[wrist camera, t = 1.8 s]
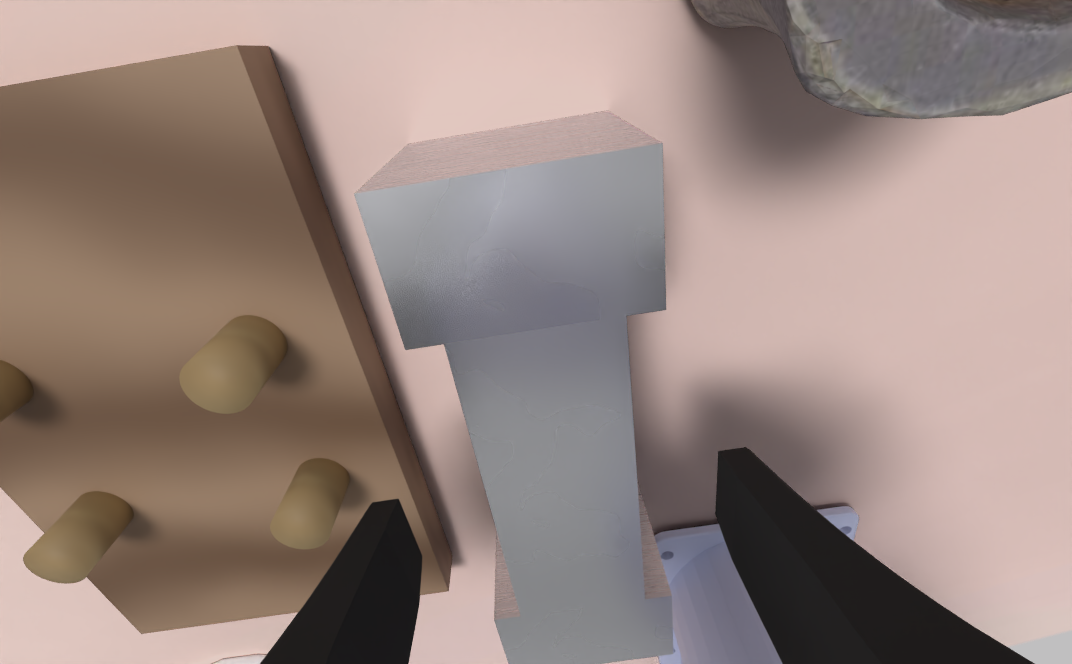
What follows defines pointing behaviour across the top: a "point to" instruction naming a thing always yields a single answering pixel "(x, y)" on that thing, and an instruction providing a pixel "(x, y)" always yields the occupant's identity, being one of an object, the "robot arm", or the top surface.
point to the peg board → (187, 347)
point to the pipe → (917, 51)
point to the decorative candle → (242, 660)
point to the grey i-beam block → (541, 359)
